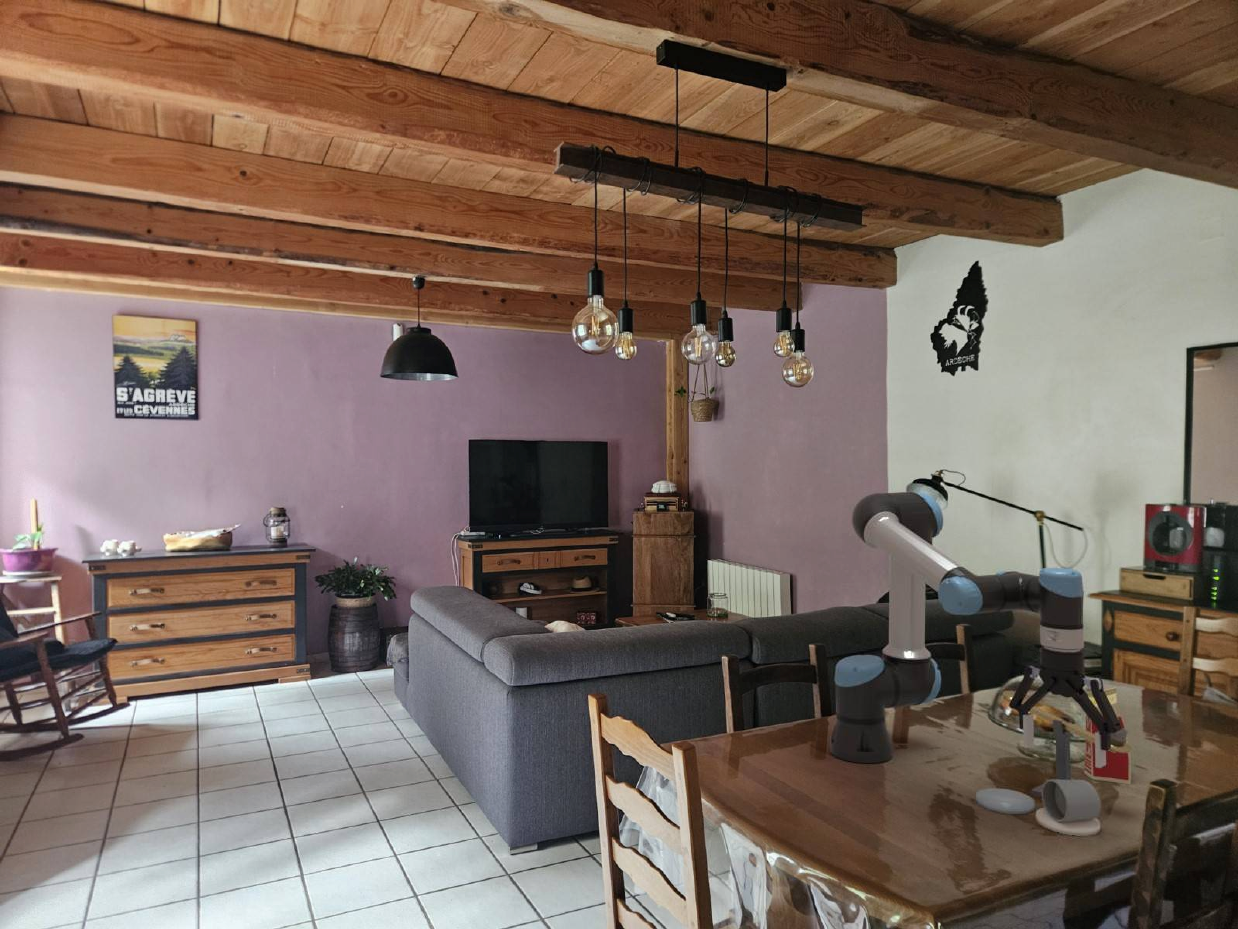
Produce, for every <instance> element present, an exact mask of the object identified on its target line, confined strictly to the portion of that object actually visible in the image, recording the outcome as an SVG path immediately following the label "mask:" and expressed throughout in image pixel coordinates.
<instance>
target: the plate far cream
mask: <svg viewBox="0 0 1238 929" xmlns="http://www.w3.org/2000/svg"><path fill="white" fill-rule="evenodd" d="M1035 820H1036V823H1037V824H1038V825H1040V826H1041V825H1042V826H1041V827H1043V828H1045V829H1047V828H1048V829H1047V830H1049V829H1050V830H1049V831H1051V830H1052V832H1055V833H1057V832H1059V834H1061V833H1062V834H1063V835H1066V834H1067V836H1072V835H1075V837H1089V836H1090V837H1091V836H1094V835H1095V836H1096V835H1098V834H1099V833H1100V832H1101V822H1100V820H1099V819H1098V817H1096V818H1094V819H1090V820H1079V821H1068V822H1057V821H1055V820H1053V819H1052V818H1051V817H1050V816H1049V815H1048V813H1047V811H1046V810H1045V807H1044V806H1043V807H1041V808H1038V809H1037V810H1036V812H1035ZM1062 834H1061V835H1062Z"/></svg>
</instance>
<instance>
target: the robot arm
mask: <svg viewBox="0 0 1238 929" xmlns="http://www.w3.org/2000/svg"><path fill="white" fill-rule="evenodd" d="M851 524H852V528H853V530H854V532H855V534H856V535H857V536H858V537H859V539H860V540H862V541H863V543H865V544H866V545H867V546H869V547H871V548H873V549H880V550H881V551H883V552H884V553H885V554H887V555H888V557H889V590H888V591H889V592H888V593H889V596H888V598H889V599H888V600H889V601H888V602H889V604H888V606H889V608H888V644H887V645H886V646H885V647H884V648H883V649H882V656H881V657H882V658H881V657H880V656H878V655H872V654H863V655H862V654H856V655H850V656H847V657H844V658H843V659H842V658H841V660H839V661H837V663H836V665H835V669H834V670H835V671H834V672H835V673H834V679H833V680H834V684H835V685H834V686H835V712H836V713H835V714H836V715H835V716H836V719H835V723H834V724H835V725H834V727H833V730H832V732H831V733H832V735H831V737H830V740H829V752H830V753H832V755H833V757H835V758H838V759H840V760H844V761H847V762H852V763H859V764H860V763H861V764H876V763H882V762H883V763H884V762H888V761H889V760H891V759H892V758H894V746H893V743H892V741H891V737H890V734H889V731H888V727H887V724H886V716H885V715H886V714H885V713H886V711H885V709H892V708H899V707H900V708H901V707H909V706H913V707H914V706H915V707H916V706H920V705H923V704H927V703H930V702H932V701H933V700H934V699H936V697H937V696H938V694H939V692H940V690H941V687H942V686H941V685H942V676H941V670H940V669H938V668H939V665H938V664H937V662H936V661H935V660H934V658H932V654H931V652H930V651H929V650H928V649H927V648H926V646H925V645H926V644H925V642H926V640H925V639H926V638H925V636H926V635H925V634H926V629H925V628H926V585H927V586H929V587H930V588H931V589H932V590H934V591H935V592H937V595H938V601H939V603H940V604H941V605H942V608H943V609H944V611H945V612H946V613H948V614H951V615H955V616H956V615H958V616H959V615H960V616H961V615H962V616H970V615H971V616H972V615H977V614H987V613H997V612H998V613H999V612H1010V611H1025V612H1031V613H1036V614H1039V626H1040V628H1039V632H1040V635H1039V636H1040V637H1039V638H1040V640H1039V641H1040V645H1041V647H1040V650H1039V652H1040V655H1039V656H1040V666H1041V668H1037V667H1036V666H1035V665H1029V666H1025V668H1024V670H1023V671H1024V672H1023V678H1022V679H1021V681H1020V683H1019V685H1018V687H1017V689H1016V691H1015V694H1014V696H1013V698H1012V700H1011V702H1010V703H1008V707H1009V708H1010V709H1013V710H1014V711H1015V710H1016V712H1018V727H1019V730H1022V733H1023V734H1022V735H1023V737H1022V739H1023V748H1026V749H1028V748H1032V747H1034V744H1035V742H1034V741H1035V740H1034V739H1035V736H1034V735H1035V734H1034V732H1035V731H1034V714H1033V713H1030V712H1028V711H1031V709H1032V708H1033V707H1034V706H1036V705H1038V704H1039V702H1040V701H1041V700H1042V699H1043V698H1045V697H1046V696H1047V695H1048V694H1049V693H1051V694H1052V695H1053V696H1054V695H1055V696H1062V697H1064V698H1072V699H1073V700H1074V702H1076V703H1077V704H1078V705H1079V706H1080V707H1081V709H1082V710H1083V712H1084V713H1085V714H1087V716H1088V717H1089V718H1090V719H1091V721H1092V722H1093V723H1094V725H1095V726H1096V727H1097V729H1098V730H1099V731H1097V732H1095V767H1097V768H1101V767H1103V766H1105V765H1106V751H1107V750H1109V749H1110V748H1111V733H1116V732H1118V731H1120V730H1122V726H1121V724H1120V722H1119V720H1118V718H1117V716H1116V714H1115V712H1114V710H1113V708H1112V706H1111V704H1110V702H1109V700H1108V698H1107V696H1106V694H1105V692H1104V690H1105V688H1104V683H1103V679H1102V678H1100V677H1096V678H1088V677H1086V676H1085V672H1084V671H1085V652H1084V651H1083V650H1082V649H1084V647H1085V640H1084V639H1085V636H1084V596H1085V591H1084V585H1083V584H1084V583H1083V576H1082V574H1081V572H1080V571H1079V570H1076V569H1072V568H1062V567H1044V568H1042V569H1041V570H1040V571H1039V572H1038V575H1034V574H1029V573H1023V572H1019V571H1015V570H1012V571H1010V570H1007V571H1006V570H1002V571H998V572H997V573H996V574H991V575H990V574H987V575H977V574H974V573H973V572H971V571H970V570H969V569H967V568H965V567H964V566H963V565H961V564H960V563H958V562H957V561H955V560H953V559H952V558H951V557H949V555H946V554H945V553H944V552H943V551H941V550H939V549H938V548H936V547H935V546H933V539H934V538H936V537H937V536H939V534H940V533H941V531H942V530H943V527H944V516H943V512H942V508H941V506H940V504H939V503H938V502H937V501H936V499H935V497H933V496H932V495H930V494H928V493H926V492H919V491H917V492H916V491H902V492H898V491H897V492H876V493H871V494H868V495H866V496H864V497H862V498H861V499H860V500H859V501H858V502H857V504H856V505H855V507H854V509H853V511H852V515H851ZM1038 677H1039V678H1040V679H1041V681H1042V684H1041V685H1040V686H1039V687H1038V689H1037V690H1035V692H1034V693H1033V694H1032V695H1031V696H1030V697H1029V699H1028V700H1027V701H1026V702H1025V703H1024V704H1023V705H1022V704H1021V703H1022V702H1023V700H1024V698H1025V696H1027V694H1028V692H1029V691H1030V689H1031V686H1032V685H1033V683H1034V681H1035V679H1037V678H1038ZM1085 686H1087V688H1088V690H1089V691H1090V692H1092V695H1093V697H1094V699H1095V701H1096V703H1097V705H1098V707H1099V709H1100V711H1101V713H1102V714H1101V713H1100V712H1099V710H1098V709H1097V708H1096V707H1095V705H1094V704H1093V703H1092V701H1091V700H1090V699H1089V697H1088V694H1087V693H1086V692H1087V691H1085V689H1084V687H1085ZM1102 715H1103V716H1102Z"/></svg>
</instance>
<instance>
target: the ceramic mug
mask: <svg viewBox="0 0 1238 929" xmlns="http://www.w3.org/2000/svg"><path fill="white" fill-rule="evenodd" d="M1043 784H1044V785H1043V788H1042V798H1041V801H1042V804H1043V808H1044V807H1045V810H1046V811H1047V813H1048V815H1049V816H1050V817H1051V818H1052V819H1053V820H1055V821H1057V822H1068V821H1079V820H1090V819H1094V818H1099V816H1100V815H1101V812H1102V808H1103V802H1102V798H1101V795H1100V793H1099V790H1098V789H1097V787H1095V785H1094V784H1092V783H1091V782H1089V781H1087V780H1082V779H1071V780H1060V779H1057V778H1056V779H1055V778H1053V779H1047V780H1046V781H1045V782H1044V783H1043Z"/></svg>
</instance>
